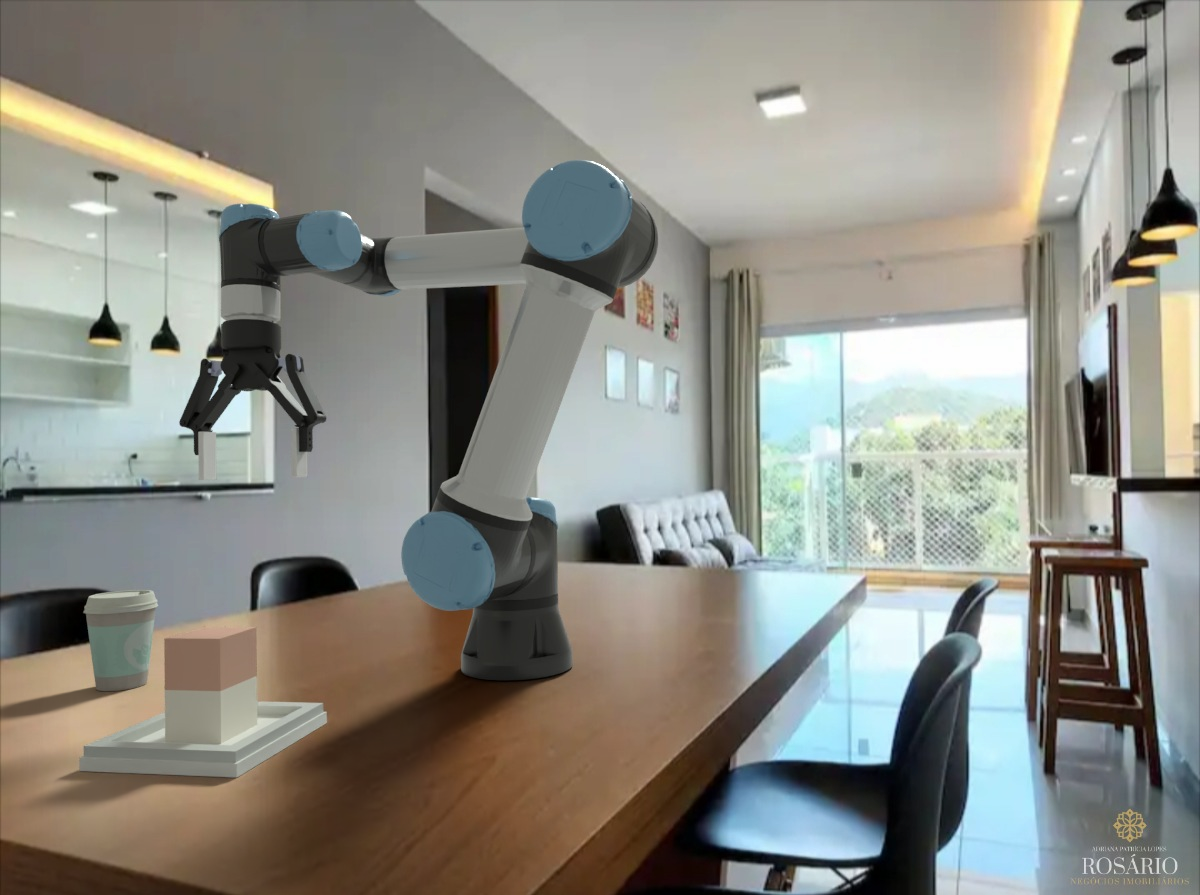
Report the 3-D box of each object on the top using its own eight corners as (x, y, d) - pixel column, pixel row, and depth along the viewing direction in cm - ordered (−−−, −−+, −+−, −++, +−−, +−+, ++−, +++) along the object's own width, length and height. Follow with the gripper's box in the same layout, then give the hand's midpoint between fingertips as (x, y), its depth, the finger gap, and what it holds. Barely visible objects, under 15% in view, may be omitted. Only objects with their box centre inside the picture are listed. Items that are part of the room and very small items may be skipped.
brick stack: (257, 724, 84) (256, 627, 85) (221, 743, 79) (220, 638, 79) (204, 723, 85) (204, 626, 86) (165, 741, 80) (164, 638, 80)
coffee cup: (125, 695, 102) (124, 599, 103) (67, 693, 104) (66, 598, 104) (173, 678, 111) (172, 589, 111) (119, 676, 112) (118, 589, 113)
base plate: (326, 722, 88) (326, 702, 89) (236, 777, 73) (236, 752, 73) (193, 719, 91) (193, 699, 91) (79, 771, 75) (79, 746, 76)
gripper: (350, 321, 113) (352, 475, 112) (187, 331, 117) (188, 480, 116) (322, 311, 105) (325, 476, 105) (149, 322, 110) (151, 481, 109)
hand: (253, 478), depth 110 cm, fingers open, 13 cm apart
